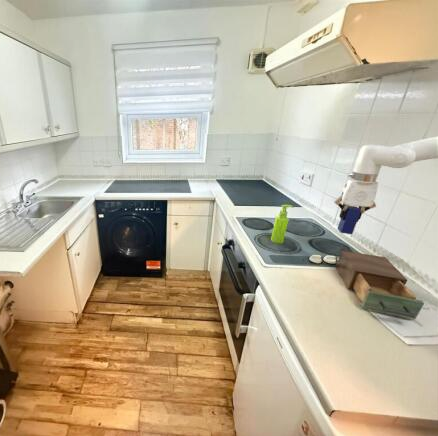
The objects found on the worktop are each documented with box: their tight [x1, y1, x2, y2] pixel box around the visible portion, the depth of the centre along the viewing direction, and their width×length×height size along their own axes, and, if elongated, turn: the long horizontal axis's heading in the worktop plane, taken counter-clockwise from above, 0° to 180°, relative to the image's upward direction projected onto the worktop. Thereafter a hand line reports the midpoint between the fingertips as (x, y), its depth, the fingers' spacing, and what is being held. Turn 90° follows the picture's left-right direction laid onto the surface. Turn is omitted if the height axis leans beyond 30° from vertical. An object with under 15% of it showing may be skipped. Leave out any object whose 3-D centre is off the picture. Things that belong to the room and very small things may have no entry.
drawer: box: [352, 273, 425, 321], centre depth 80 cm, size 19×13×7 cm
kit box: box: [337, 205, 361, 235], centre depth 101 cm, size 4×5×11 cm
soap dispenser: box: [270, 204, 294, 244], centre depth 122 cm, size 6×7×20 cm
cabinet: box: [334, 250, 408, 292], centre depth 92 cm, size 16×15×9 cm
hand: (348, 219), depth 101 cm, fingers closed on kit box, 4 cm apart
